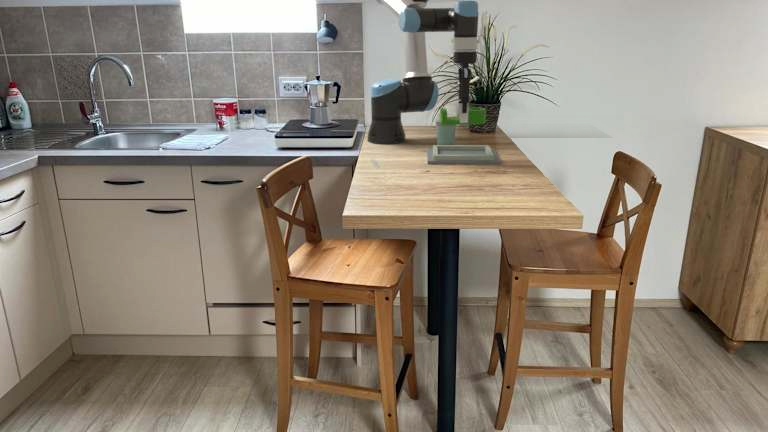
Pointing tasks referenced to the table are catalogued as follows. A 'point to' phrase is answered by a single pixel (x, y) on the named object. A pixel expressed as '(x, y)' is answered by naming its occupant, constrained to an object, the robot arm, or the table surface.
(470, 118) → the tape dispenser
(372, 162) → the butter knife
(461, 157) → the slot board
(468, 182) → the table surface
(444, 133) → the coffee cup
